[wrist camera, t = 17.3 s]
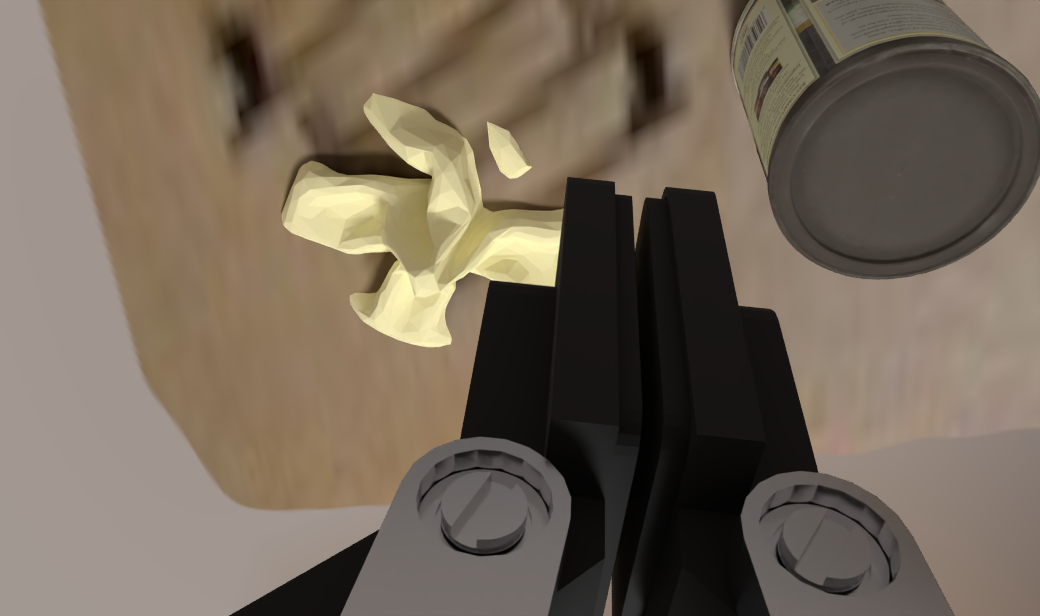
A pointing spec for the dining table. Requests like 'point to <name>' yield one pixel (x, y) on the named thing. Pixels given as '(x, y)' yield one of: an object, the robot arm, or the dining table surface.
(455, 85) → the dining table surface
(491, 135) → the cloth
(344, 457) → the dining table surface
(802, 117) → the coffee can
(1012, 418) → the dining table surface
